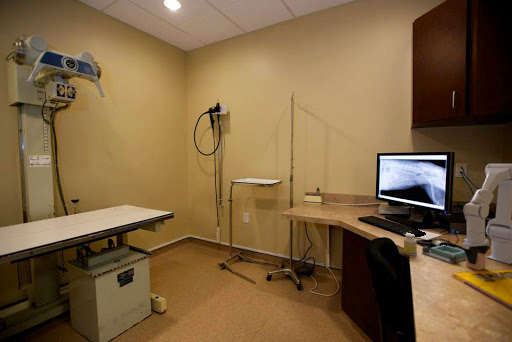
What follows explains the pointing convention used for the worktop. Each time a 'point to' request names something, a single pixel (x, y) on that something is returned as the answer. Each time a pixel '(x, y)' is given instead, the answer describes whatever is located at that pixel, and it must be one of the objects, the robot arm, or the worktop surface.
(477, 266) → the block
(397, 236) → the worktop surface
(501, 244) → the robot arm
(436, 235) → the paper stack
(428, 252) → the chassis
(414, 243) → the supplement bottle
